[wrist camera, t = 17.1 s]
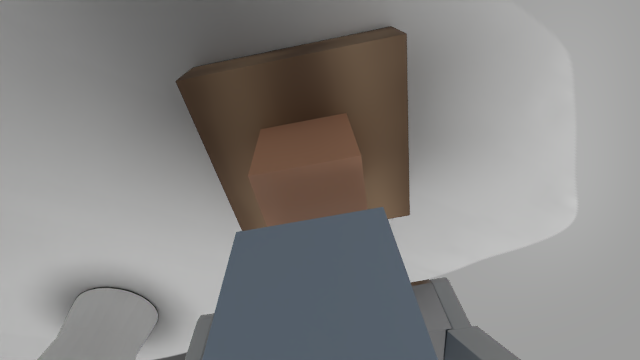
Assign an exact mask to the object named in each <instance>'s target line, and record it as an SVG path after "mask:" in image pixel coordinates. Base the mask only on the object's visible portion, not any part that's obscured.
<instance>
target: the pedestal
mask: <svg viewBox="0 0 640 360" xmlns="http://www.w3.org/2000/svg"><path fill="white" fill-rule="evenodd" d="M176 83H177V86H178V88H179V90H180V92H181V95H182V97H183V99H184V101H185V104H186V106H187V108H188V110H189V113H190V115H191V117H192V119H193V122H194V124H195V126H196V128H197V131H198V133H199V135H200V137H201V140H202V142H203V144H204V146H205V148H206V151H207V153H208V155H209V157H210V160H211V162H212V164H213V166H214V169H215V171H216V173H217V175H218V178H219V180H220V182H221V184H222V187H223V189H224V191H225V193H226V196H227V198H228V200H229V202H230V205H231V207H232V209H233V211H234V213H235V216H236V218H237V220H238V222H239V225H240V227H241V229H242V231H246V230H252V229H258V228H263V227H267V226H266V223H265V221H264V218H263V215H262V213H261V210H260V207H259V205H258V202H257V199H256V197H255V194H254V191H253V189H252V186H251V183H250V181H249V178H248V174H249V170H250V166H251V163H252V159H253V155H254V152H255V148H256V144H257V141H258V137H259V133H260V130H261V129H265V128H270V127H275V126H281V125H286V124H291V123H296V122H302V121H307V120H312V119H317V118H323V117H328V116H333V115H338V114H344V113H347V116H348V119H349V122H350V125H351V128H352V130H353V133H354V136H355V139H356V142H357V145H358V147H359V150H360V153H361V157H362V166H363V175H364V183H365V192H366V201H367V209H374V208H379V207H384V210H385V213H386V216H387V219H390V218H396V217H402V216H408V215H410V205H409V148H408V91H407V34H406V33H404V32H402V31H400V30H398V29H396V28H393V27H386V28H381V29H376V30H372V31H367V32H362V33H357V34H352V35H347V36H343V37H338V38H333V39H328V40H323V41H319V42H314V43H309V44H304V45H299V46H294V47H290V48H285V49H280V50H275V51H270V52H266V53H261V54H256V55H251V56H246V57H241V58H237V59H232V60H227V61H222V62H217V63H212V64H208V65H203V66H198V67H193V68H192V69H190V70H189V71H188V72H187V73H185V74H184V75H183V76H181V77H180V78H179V79H178V80H176Z"/></svg>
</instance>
